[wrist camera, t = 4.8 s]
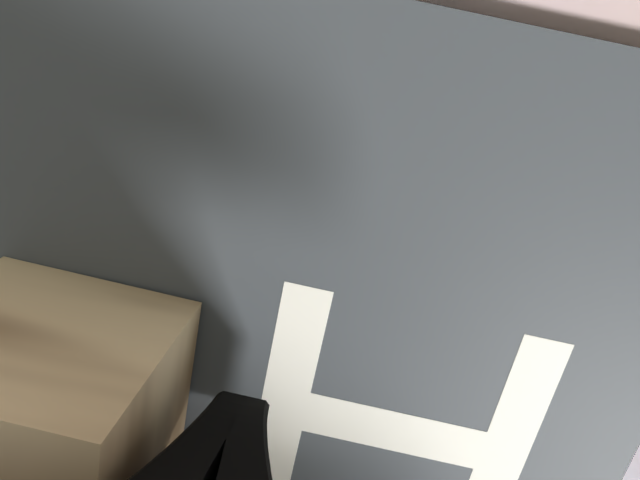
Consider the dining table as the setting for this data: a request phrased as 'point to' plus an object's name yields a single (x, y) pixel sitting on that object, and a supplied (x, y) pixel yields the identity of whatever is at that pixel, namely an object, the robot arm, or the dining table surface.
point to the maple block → (89, 373)
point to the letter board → (351, 218)
